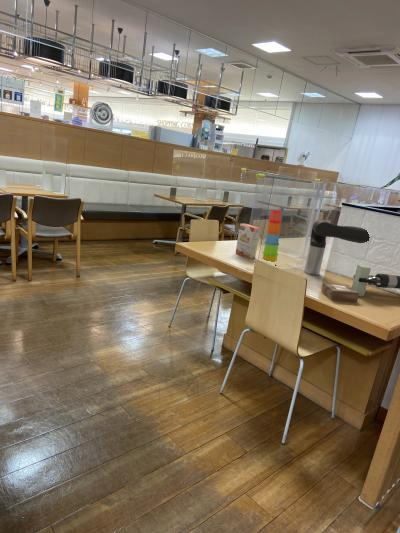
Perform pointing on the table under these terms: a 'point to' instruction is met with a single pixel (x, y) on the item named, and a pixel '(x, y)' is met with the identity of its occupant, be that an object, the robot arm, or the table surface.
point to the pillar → (361, 272)
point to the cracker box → (247, 240)
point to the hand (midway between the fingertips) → (356, 278)
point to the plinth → (340, 292)
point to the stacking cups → (272, 236)
